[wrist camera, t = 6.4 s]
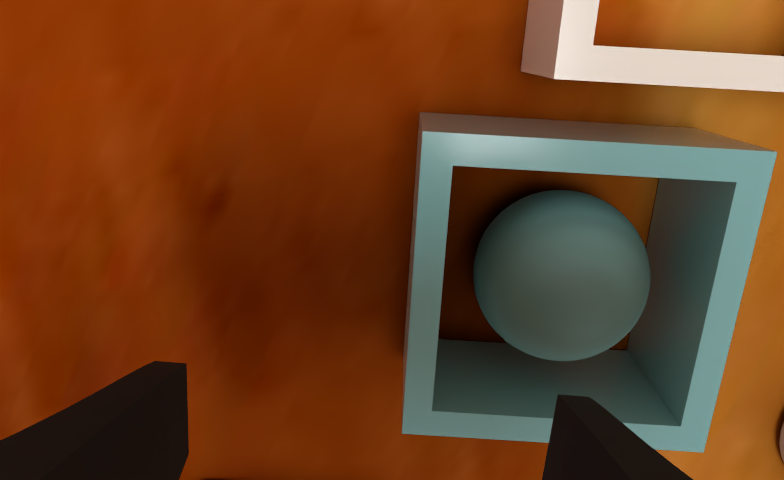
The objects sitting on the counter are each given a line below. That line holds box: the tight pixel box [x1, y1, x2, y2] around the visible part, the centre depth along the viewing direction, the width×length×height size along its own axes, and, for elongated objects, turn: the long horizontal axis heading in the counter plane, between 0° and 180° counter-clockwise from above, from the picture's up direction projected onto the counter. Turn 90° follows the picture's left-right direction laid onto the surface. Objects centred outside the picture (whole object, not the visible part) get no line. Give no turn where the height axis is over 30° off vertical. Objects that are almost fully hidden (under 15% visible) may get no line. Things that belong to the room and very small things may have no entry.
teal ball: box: [473, 190, 650, 361], centre depth 18 cm, size 5×5×5 cm
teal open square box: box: [402, 112, 777, 452], centre depth 18 cm, size 9×9×4 cm
